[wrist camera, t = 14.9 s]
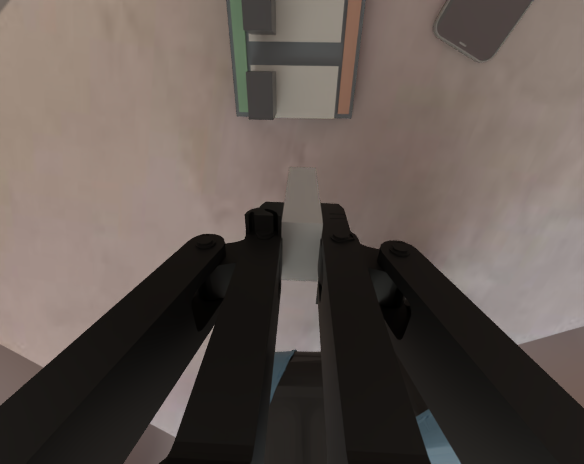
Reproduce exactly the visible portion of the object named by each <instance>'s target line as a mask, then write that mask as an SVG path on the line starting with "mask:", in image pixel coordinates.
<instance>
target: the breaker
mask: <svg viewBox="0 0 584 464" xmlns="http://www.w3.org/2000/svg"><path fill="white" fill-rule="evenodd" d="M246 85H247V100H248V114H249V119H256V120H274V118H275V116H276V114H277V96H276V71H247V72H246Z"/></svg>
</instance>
